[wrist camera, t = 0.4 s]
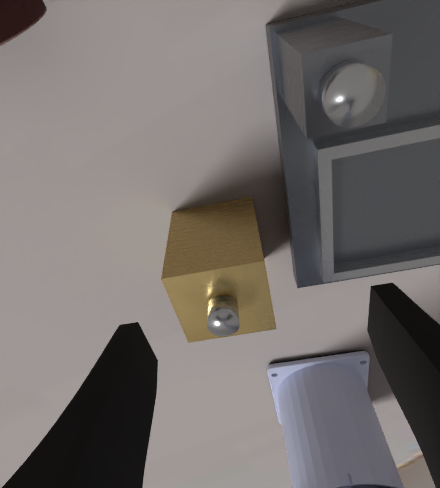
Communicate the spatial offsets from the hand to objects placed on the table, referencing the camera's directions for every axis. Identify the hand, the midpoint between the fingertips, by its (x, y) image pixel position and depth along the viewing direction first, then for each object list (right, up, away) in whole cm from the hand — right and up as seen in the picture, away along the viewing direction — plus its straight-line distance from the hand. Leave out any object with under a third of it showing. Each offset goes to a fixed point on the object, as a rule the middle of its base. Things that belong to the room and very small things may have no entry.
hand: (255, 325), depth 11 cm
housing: (-1, +3, +10) cm, 10 cm away
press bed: (+7, +7, +7) cm, 12 cm away
